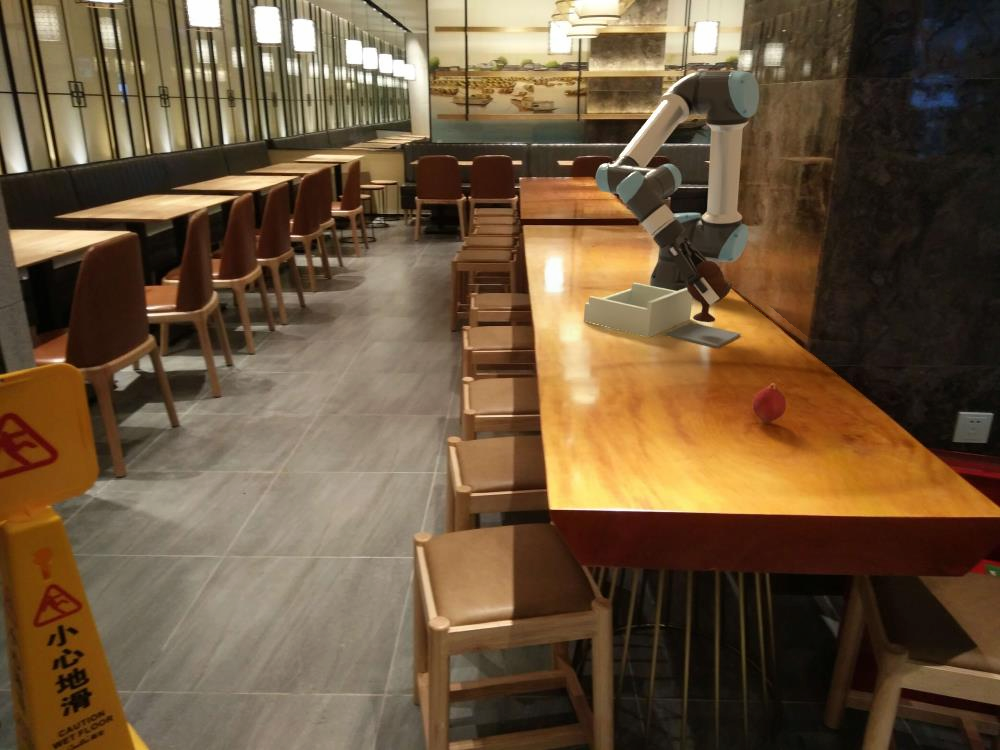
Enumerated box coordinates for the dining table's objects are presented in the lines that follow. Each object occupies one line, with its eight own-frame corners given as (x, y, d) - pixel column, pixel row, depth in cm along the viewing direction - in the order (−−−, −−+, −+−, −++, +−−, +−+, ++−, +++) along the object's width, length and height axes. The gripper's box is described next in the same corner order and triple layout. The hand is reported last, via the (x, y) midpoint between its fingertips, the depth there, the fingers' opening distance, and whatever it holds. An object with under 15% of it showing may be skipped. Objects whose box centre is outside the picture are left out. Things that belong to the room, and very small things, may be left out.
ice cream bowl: (728, 327, 182) (737, 266, 176) (681, 322, 184) (689, 262, 178) (724, 315, 191) (733, 258, 186) (680, 311, 193) (688, 254, 188)
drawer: (628, 305, 215) (631, 274, 212) (690, 319, 203) (694, 287, 200) (583, 321, 198) (586, 288, 195) (648, 337, 186) (651, 302, 183)
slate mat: (690, 324, 199) (690, 322, 198) (740, 335, 190) (740, 333, 190) (665, 335, 188) (665, 333, 188) (717, 347, 180) (717, 345, 180)
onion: (744, 416, 141) (751, 377, 138) (774, 416, 142) (781, 377, 139) (757, 429, 136) (764, 388, 133) (787, 429, 136) (795, 388, 133)
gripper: (662, 230, 197) (714, 295, 196) (640, 244, 177) (697, 316, 176) (685, 212, 193) (738, 278, 192) (665, 224, 173) (723, 298, 172)
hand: (718, 296), depth 184 cm, fingers closed on ice cream bowl, 11 cm apart
